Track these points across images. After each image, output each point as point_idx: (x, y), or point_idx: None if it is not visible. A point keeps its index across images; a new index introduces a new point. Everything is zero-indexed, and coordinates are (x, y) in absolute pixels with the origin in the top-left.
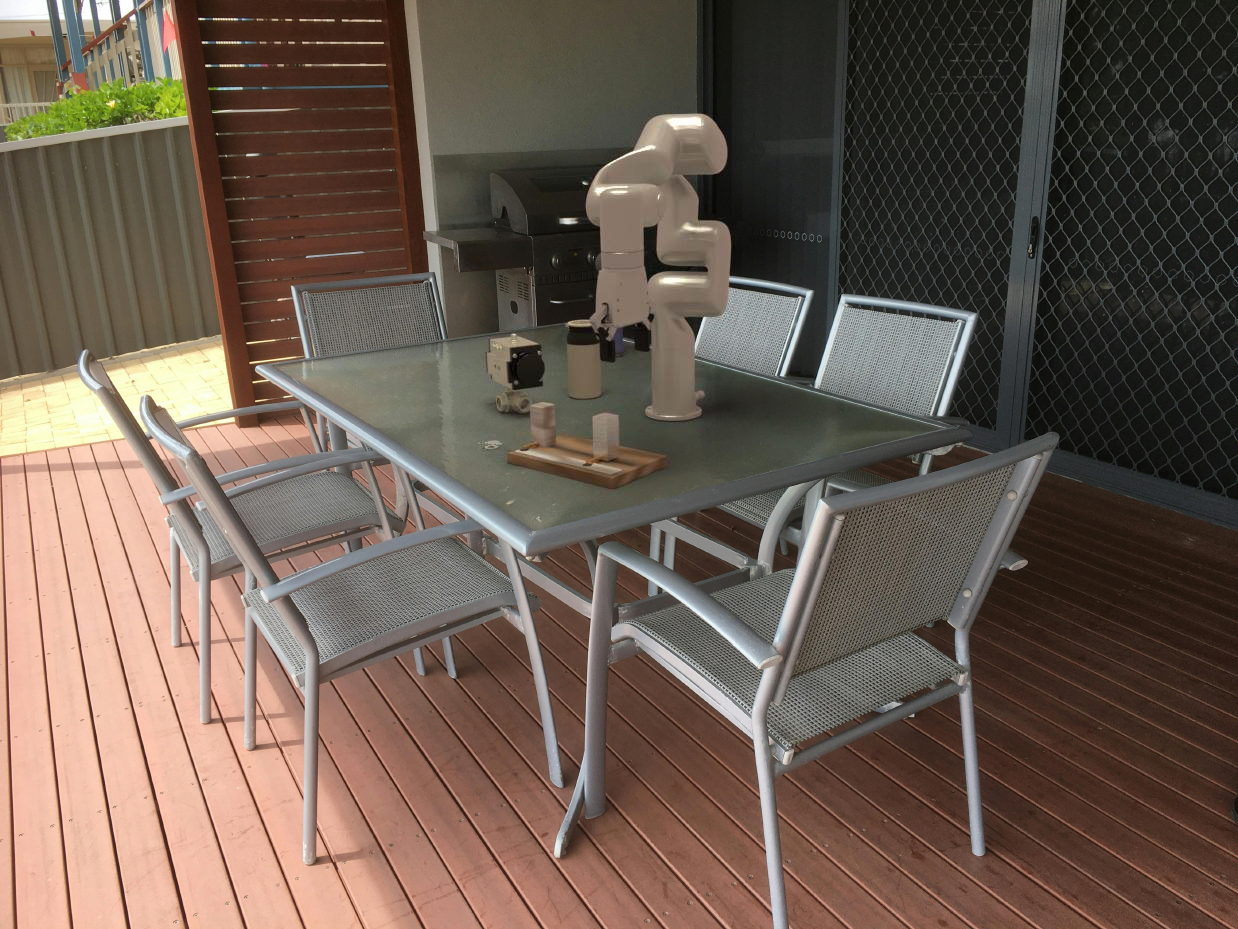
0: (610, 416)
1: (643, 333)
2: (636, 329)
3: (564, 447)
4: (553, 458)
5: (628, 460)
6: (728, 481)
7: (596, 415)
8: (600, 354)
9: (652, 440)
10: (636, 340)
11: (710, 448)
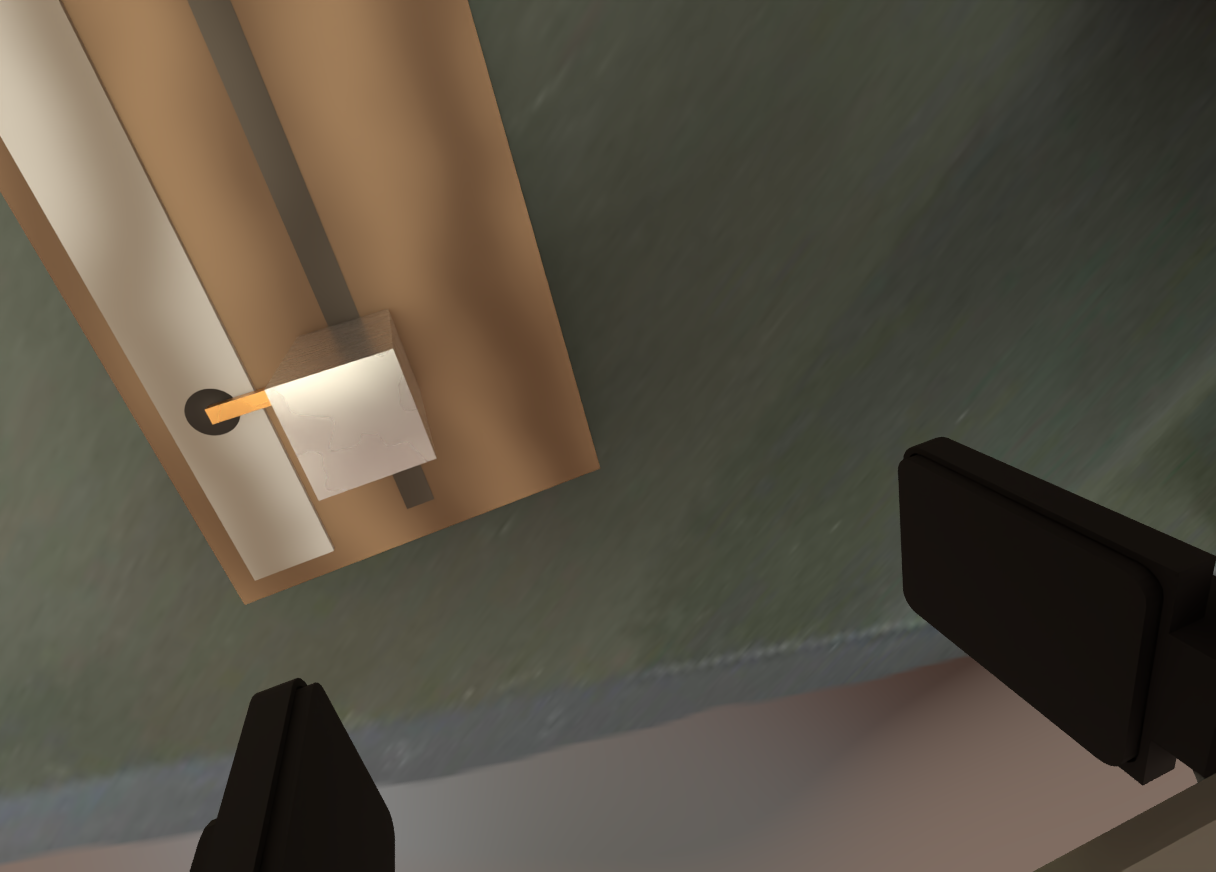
0: (375, 457)
1: (1093, 707)
2: (1169, 609)
3: (251, 27)
4: (73, 204)
5: (436, 437)
6: (639, 670)
7: (302, 387)
8: (243, 756)
9: (761, 121)
10: (992, 539)
11: (831, 366)
